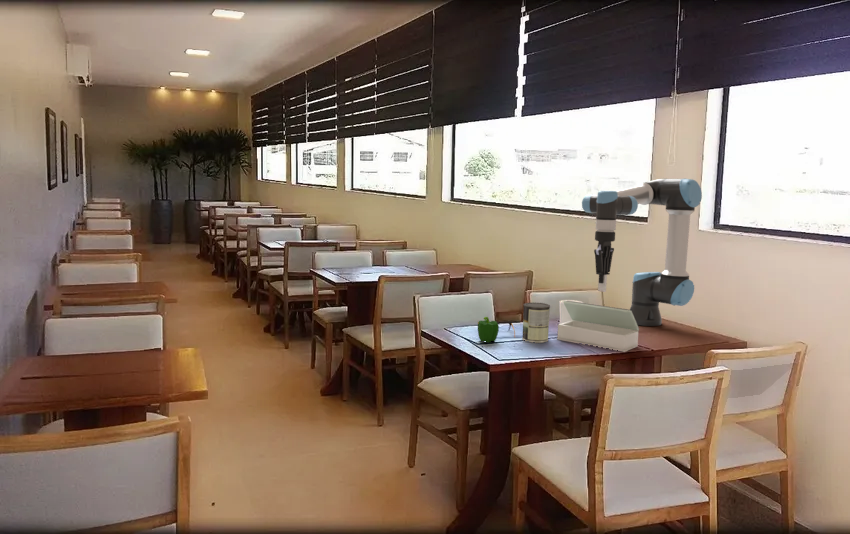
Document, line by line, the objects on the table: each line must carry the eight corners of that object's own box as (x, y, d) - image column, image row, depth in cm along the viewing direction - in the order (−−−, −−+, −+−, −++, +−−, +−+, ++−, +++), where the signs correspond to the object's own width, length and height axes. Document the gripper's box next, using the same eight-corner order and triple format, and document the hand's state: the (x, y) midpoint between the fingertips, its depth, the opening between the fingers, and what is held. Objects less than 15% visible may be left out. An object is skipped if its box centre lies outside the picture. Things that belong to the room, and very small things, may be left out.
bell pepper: (488, 338, 271) (489, 313, 270) (502, 342, 264) (503, 317, 263) (471, 340, 267) (472, 315, 265) (485, 344, 260) (486, 319, 259)
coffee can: (516, 339, 270) (518, 304, 268) (532, 335, 277) (534, 301, 276) (537, 344, 263) (539, 308, 261) (553, 340, 270) (555, 305, 268)
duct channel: (571, 334, 281) (572, 320, 280) (637, 346, 263) (638, 331, 263) (557, 339, 272) (558, 324, 271) (624, 351, 254) (625, 336, 253)
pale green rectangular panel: (572, 320, 280) (573, 317, 281) (638, 330, 263) (639, 328, 263) (563, 302, 273) (564, 300, 273) (630, 312, 255) (631, 309, 256)
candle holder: (574, 326, 296) (575, 299, 295) (586, 331, 287) (587, 303, 286) (553, 327, 293) (555, 300, 292) (565, 332, 284) (566, 304, 283)
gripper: (603, 229, 271) (600, 288, 274) (588, 230, 261) (585, 291, 264) (621, 230, 266) (618, 290, 269) (607, 232, 256) (603, 294, 259)
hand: (601, 291), depth 267 cm, fingers closed
